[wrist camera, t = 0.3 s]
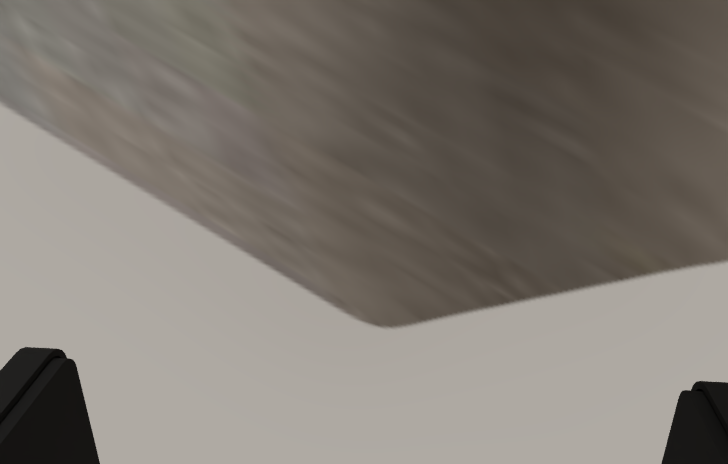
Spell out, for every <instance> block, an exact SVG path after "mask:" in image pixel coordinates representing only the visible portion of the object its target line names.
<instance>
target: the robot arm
mask: <svg viewBox="0 0 728 464" xmlns="http://www.w3.org/2000/svg"><path fill="white" fill-rule="evenodd" d="M0 464H100V463H99V459H98V454H97V450H96V446H95V442H94V437H93V433H92V429H91V425H90V421H89V417H88V412H87V409H86V404H85V400H84V396H83V392H82V388H81V384H80V379H79V375H78V371H77V367H76V364H75V362H74V361H73V360H72V359H67V357H66V355H65V353H64V352H63V351H62V350H60V349H50V348H30V347H25V348H22V349H20V350H19V351H18V352H16V354H15V355H14V356H13V357H12V358H11V359H10V360H9V361H8V363H7V364H6V365H5V366H4V367H3V369H1V370H0ZM662 464H728V383H725V382H724V383H723V382H705V381H699V382H696V383H695V384H694V385H693V387H692V389H691V391H687V390H685V391H682V392H681V394H680V396H679V399H678V403H677V407H676V411H675V414H674V418H673V422H672V426H671V430H670V433H669V437H668V441H667V445H666V449H665V453H664V457H663V460H662Z"/></svg>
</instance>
